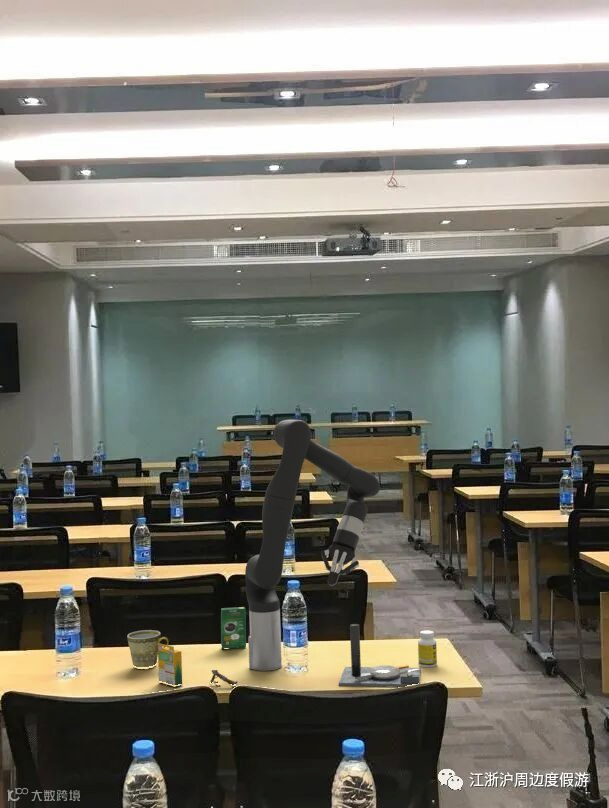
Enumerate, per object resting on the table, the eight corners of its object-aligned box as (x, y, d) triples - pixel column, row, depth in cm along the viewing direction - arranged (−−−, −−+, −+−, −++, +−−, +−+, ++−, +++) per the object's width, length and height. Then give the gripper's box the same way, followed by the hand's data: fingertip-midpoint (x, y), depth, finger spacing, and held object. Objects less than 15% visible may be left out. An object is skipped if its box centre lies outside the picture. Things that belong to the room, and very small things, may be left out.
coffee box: (245, 645, 281) (244, 605, 281) (247, 648, 278) (245, 607, 278) (221, 648, 279) (219, 607, 279) (222, 650, 276) (221, 609, 276)
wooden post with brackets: (208, 681, 242) (214, 667, 241) (232, 694, 239) (237, 680, 238) (205, 683, 240) (211, 668, 239) (229, 696, 237) (235, 682, 237)
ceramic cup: (122, 671, 257) (121, 638, 257) (136, 661, 266) (135, 629, 267) (162, 673, 254) (161, 639, 254) (175, 663, 263) (174, 630, 264)
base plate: (338, 685, 236) (338, 671, 236) (345, 669, 251) (344, 656, 251) (419, 687, 232) (418, 672, 233) (420, 670, 247) (420, 657, 247)
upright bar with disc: (399, 665, 249) (397, 613, 249) (416, 673, 241) (414, 619, 241) (344, 676, 241) (342, 622, 241) (360, 685, 233) (358, 629, 233)
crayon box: (183, 685, 241) (181, 644, 241) (174, 688, 239) (173, 646, 239) (166, 680, 246) (165, 640, 246) (158, 683, 244) (157, 642, 244)
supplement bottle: (436, 668, 249) (435, 634, 249) (418, 667, 250) (416, 634, 250) (437, 662, 254) (436, 629, 255) (419, 662, 256) (418, 629, 256)
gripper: (327, 523, 265) (309, 575, 258) (368, 535, 262) (350, 588, 255) (329, 531, 272) (311, 582, 265) (369, 543, 269) (352, 595, 262)
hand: (330, 585), depth 260 cm, fingers closed
